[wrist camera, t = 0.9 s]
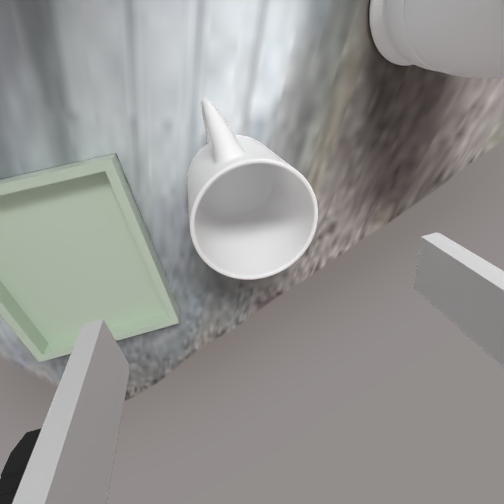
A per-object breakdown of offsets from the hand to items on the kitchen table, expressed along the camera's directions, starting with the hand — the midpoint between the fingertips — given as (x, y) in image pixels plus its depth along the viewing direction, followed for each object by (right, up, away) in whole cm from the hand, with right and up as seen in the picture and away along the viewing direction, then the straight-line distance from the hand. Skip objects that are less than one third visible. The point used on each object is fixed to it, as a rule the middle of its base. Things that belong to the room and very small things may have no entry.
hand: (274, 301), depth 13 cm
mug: (-3, +10, +16) cm, 19 cm away
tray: (-18, +1, +17) cm, 25 cm away
